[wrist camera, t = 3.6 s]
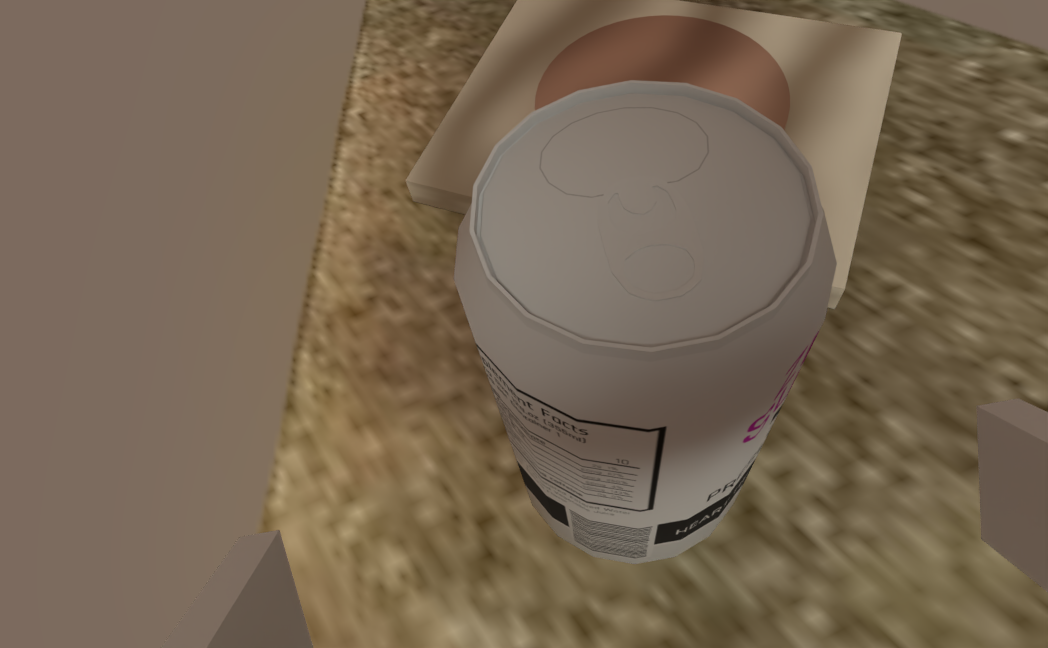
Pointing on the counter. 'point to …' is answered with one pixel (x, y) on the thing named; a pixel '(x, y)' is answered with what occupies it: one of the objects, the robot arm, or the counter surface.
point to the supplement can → (642, 305)
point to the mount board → (686, 57)
